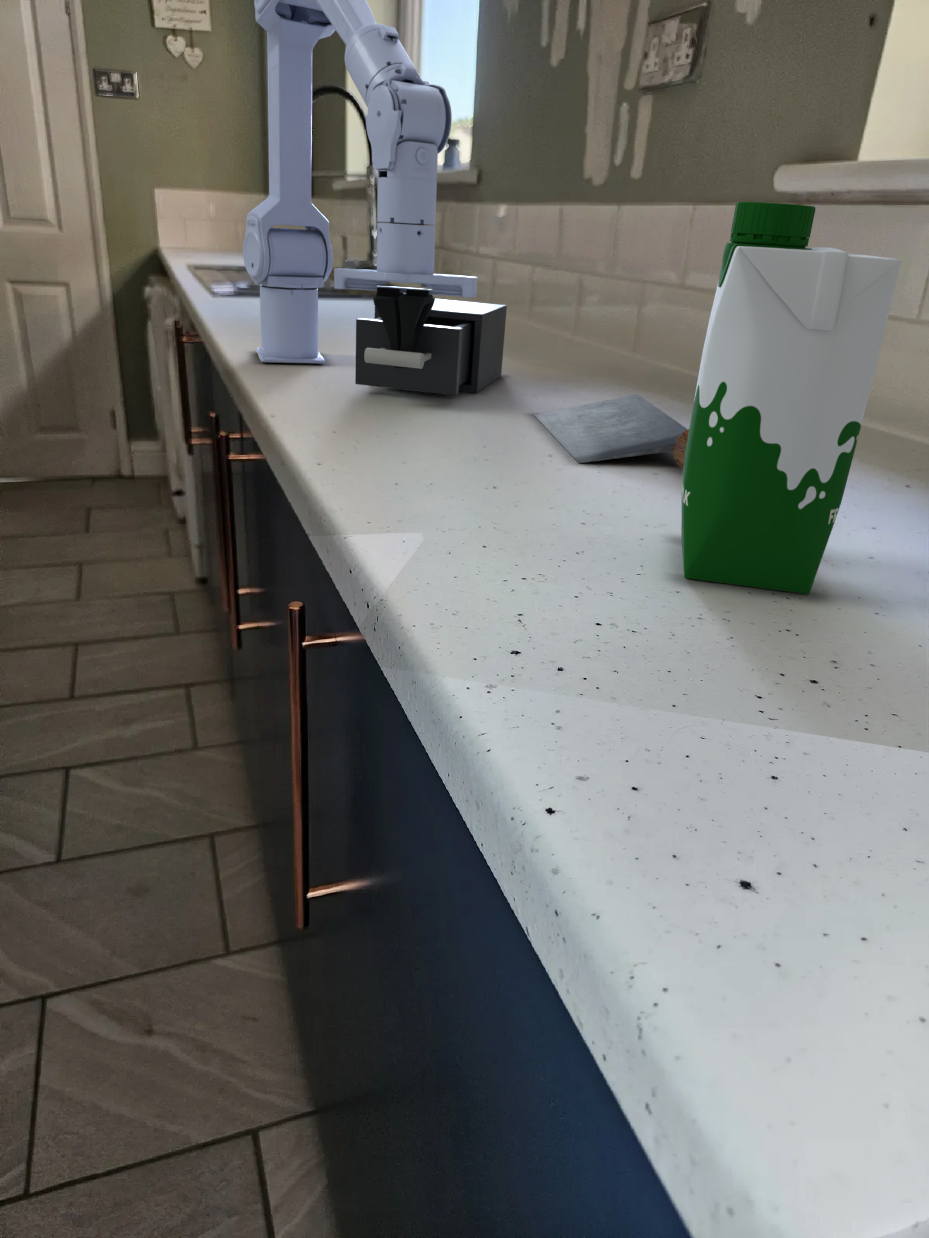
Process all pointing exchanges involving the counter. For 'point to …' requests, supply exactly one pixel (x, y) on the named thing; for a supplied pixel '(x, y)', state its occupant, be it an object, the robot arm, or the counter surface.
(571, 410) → the meat cleaver
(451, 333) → the dark drawer box
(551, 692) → the counter surface
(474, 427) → the counter surface
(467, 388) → the small drawer unit
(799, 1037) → the counter surface
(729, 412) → the milk carton
